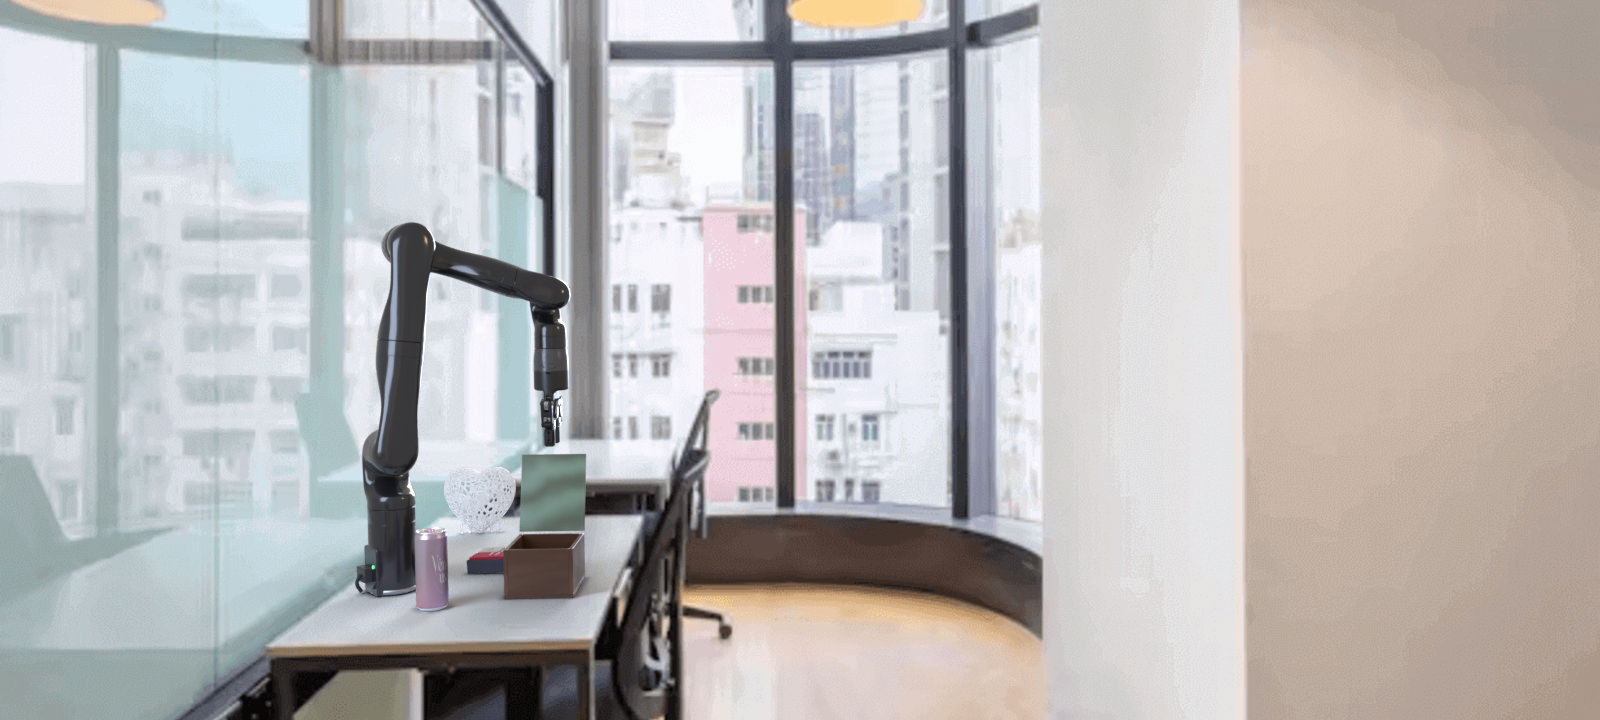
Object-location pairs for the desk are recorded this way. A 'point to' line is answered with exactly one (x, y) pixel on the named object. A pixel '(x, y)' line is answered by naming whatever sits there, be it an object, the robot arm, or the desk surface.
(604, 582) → the desk surface
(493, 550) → the calculator
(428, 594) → the beverage can
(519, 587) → the chest
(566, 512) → the lid
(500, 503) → the decorative heart
